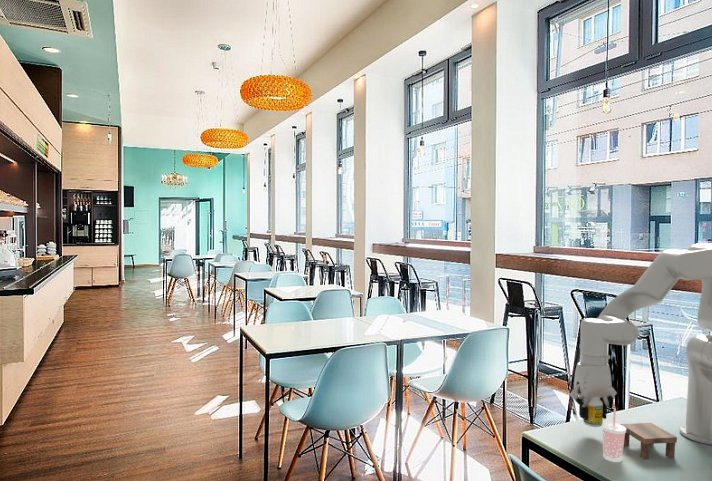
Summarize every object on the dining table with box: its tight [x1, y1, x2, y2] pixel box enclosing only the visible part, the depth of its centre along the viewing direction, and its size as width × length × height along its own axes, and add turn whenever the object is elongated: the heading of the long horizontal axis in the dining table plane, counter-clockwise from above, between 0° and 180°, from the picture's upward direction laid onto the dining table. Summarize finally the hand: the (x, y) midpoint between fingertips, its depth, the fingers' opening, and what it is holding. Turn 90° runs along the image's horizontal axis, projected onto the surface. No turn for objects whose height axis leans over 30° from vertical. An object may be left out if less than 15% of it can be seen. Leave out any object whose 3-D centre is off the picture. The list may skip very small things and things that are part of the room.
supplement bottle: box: [583, 397, 604, 428], centre depth 156 cm, size 5×5×10 cm
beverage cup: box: [601, 408, 626, 463], centre depth 141 cm, size 6×6×14 cm
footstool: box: [620, 422, 678, 460], centre depth 147 cm, size 10×10×6 cm
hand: (592, 417), depth 156 cm, fingers closed on supplement bottle, 5 cm apart
